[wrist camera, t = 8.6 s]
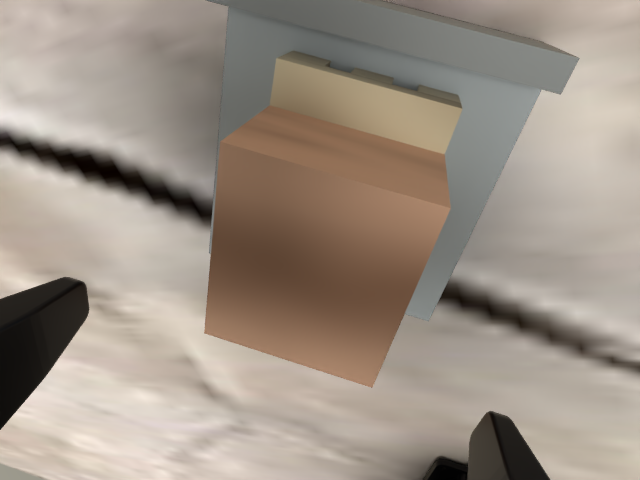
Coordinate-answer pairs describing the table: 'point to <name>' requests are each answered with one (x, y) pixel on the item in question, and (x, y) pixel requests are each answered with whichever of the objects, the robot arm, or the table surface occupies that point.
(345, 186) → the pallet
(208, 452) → the table surface
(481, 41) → the dock
